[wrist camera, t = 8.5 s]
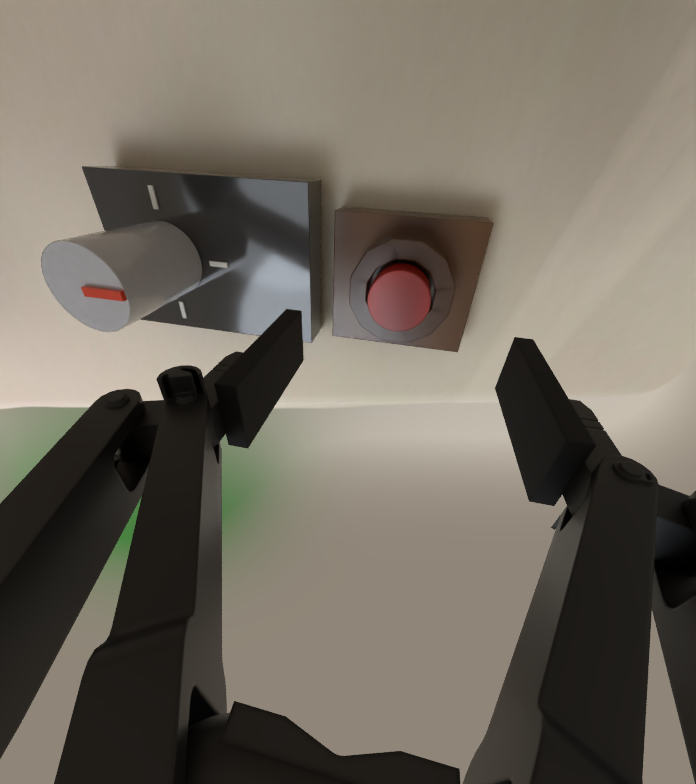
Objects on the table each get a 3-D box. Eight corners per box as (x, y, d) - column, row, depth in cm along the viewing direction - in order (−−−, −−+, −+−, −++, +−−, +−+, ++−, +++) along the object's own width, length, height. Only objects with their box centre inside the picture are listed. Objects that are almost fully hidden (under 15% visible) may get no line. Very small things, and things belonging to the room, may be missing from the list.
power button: (368, 318, 23) (365, 327, 22) (373, 259, 21) (370, 266, 20) (424, 324, 23) (424, 335, 21) (436, 266, 20) (436, 273, 19)
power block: (338, 324, 28) (326, 345, 25) (341, 206, 23) (327, 213, 20) (455, 340, 27) (459, 364, 24) (488, 217, 21) (499, 227, 18)
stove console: (158, 306, 31) (134, 319, 28) (115, 166, 24) (79, 166, 22) (321, 328, 29) (311, 344, 26) (321, 179, 22) (307, 181, 20)
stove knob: (150, 289, 26) (63, 328, 20) (127, 217, 23) (16, 237, 17) (208, 296, 26) (138, 339, 19) (193, 223, 22) (103, 246, 16)
